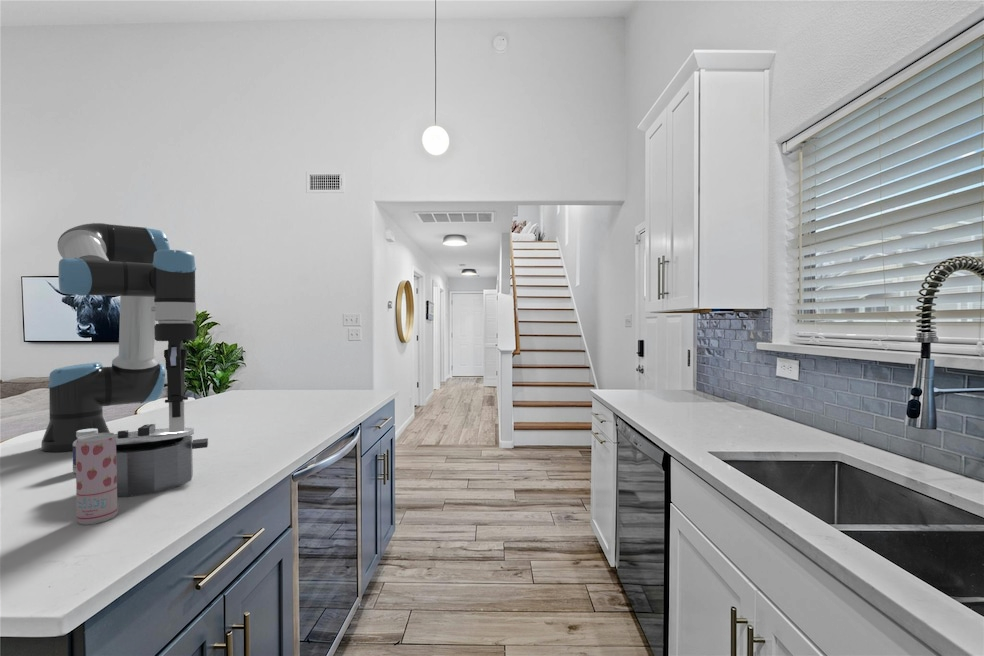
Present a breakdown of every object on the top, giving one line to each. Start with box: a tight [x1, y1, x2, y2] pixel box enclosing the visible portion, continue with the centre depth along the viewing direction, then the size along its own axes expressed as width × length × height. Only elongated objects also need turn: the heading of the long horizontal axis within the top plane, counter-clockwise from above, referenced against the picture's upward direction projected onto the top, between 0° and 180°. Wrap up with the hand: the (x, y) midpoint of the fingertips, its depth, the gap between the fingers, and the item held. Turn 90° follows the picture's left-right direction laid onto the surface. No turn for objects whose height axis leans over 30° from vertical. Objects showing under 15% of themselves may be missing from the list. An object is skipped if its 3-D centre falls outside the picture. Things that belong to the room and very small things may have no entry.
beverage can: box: [75, 432, 119, 526], centre depth 87 cm, size 6×6×15 cm
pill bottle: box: [72, 429, 98, 474], centre depth 115 cm, size 5×5×10 cm
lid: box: [114, 423, 195, 445], centre depth 106 cm, size 18×18×3 cm
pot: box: [116, 435, 209, 498], centre depth 106 cm, size 17×23×9 cm
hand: (177, 431), depth 104 cm, fingers closed
